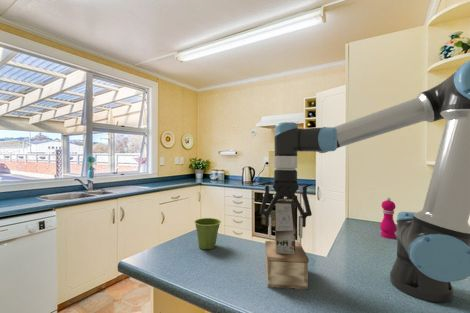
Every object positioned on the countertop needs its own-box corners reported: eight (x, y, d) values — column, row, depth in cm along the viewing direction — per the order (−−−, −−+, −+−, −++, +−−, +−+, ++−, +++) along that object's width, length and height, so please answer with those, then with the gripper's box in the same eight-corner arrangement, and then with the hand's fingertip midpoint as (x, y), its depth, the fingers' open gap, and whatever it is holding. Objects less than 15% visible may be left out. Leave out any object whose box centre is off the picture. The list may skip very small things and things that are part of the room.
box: (298, 267, 83) (299, 245, 83) (307, 289, 69) (307, 263, 69) (265, 265, 84) (265, 243, 84) (267, 287, 70) (267, 261, 70)
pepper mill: (380, 233, 122) (380, 195, 122) (396, 236, 118) (397, 197, 118) (379, 237, 116) (379, 197, 116) (396, 240, 112) (397, 199, 112)
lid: (299, 245, 83) (299, 242, 83) (308, 262, 69) (308, 259, 69) (265, 243, 84) (265, 240, 84) (267, 260, 70) (267, 256, 70)
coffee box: (296, 255, 71) (296, 203, 72) (275, 253, 73) (275, 202, 73) (293, 244, 80) (294, 198, 81) (275, 243, 82) (275, 198, 82)
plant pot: (214, 253, 94) (214, 226, 94) (188, 249, 98) (189, 223, 98) (224, 243, 105) (224, 219, 105) (201, 240, 109) (201, 216, 109)
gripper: (316, 169, 79) (315, 233, 79) (252, 168, 81) (252, 230, 81) (322, 170, 72) (322, 241, 72) (252, 169, 74) (251, 238, 74)
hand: (284, 235), depth 77 cm, fingers open, 9 cm apart
